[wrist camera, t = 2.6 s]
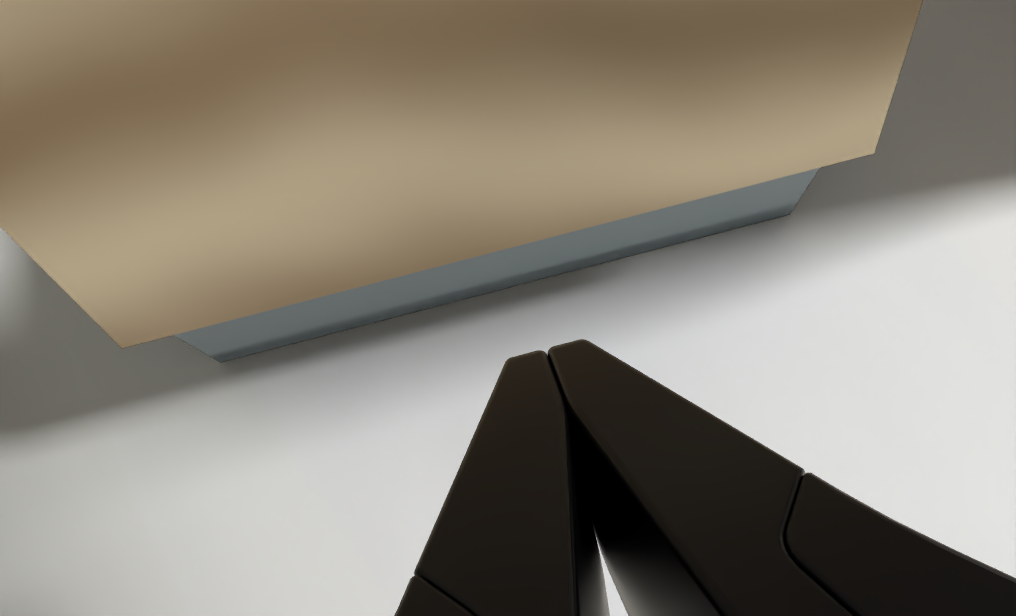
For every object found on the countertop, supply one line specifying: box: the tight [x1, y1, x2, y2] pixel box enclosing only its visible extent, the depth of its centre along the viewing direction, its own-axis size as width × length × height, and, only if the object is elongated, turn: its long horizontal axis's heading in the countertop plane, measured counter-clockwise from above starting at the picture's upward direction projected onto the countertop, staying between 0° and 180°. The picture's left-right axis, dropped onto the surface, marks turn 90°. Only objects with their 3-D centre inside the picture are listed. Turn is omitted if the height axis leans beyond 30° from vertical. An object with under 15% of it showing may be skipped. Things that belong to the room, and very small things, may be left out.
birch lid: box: [0, 0, 923, 348], centre depth 14 cm, size 10×16×1 cm
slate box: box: [174, 168, 819, 362], centre depth 23 cm, size 10×16×5 cm, turn 104°
